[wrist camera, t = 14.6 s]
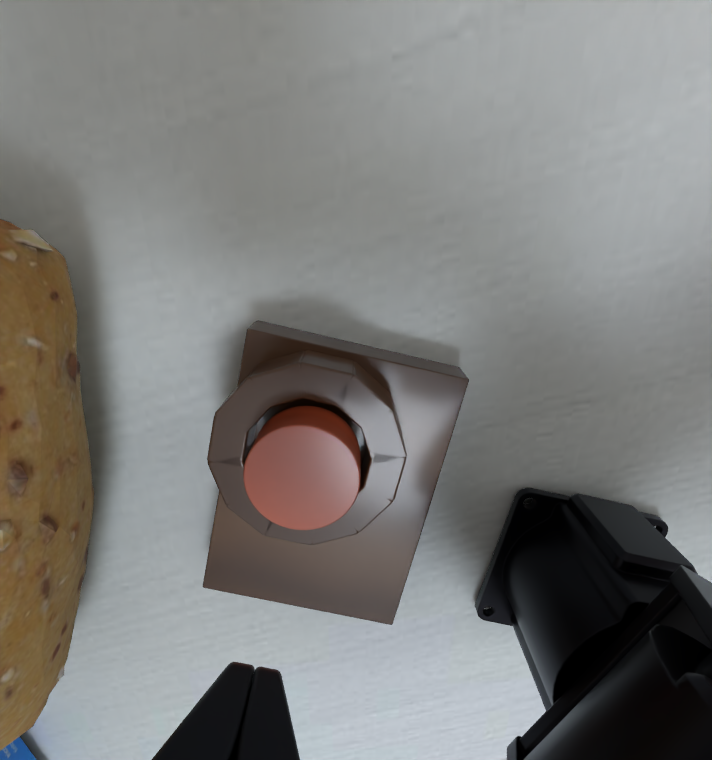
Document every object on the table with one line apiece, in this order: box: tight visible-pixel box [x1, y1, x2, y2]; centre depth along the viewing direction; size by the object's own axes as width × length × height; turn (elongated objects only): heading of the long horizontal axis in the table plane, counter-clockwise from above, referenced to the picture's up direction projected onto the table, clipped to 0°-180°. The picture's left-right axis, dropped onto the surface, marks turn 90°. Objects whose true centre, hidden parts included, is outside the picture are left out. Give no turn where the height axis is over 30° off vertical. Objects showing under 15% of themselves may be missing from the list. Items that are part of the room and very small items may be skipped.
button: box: [243, 406, 360, 530], centre depth 16 cm, size 4×4×2 cm
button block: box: [203, 321, 469, 625], centre depth 19 cm, size 11×8×4 cm
